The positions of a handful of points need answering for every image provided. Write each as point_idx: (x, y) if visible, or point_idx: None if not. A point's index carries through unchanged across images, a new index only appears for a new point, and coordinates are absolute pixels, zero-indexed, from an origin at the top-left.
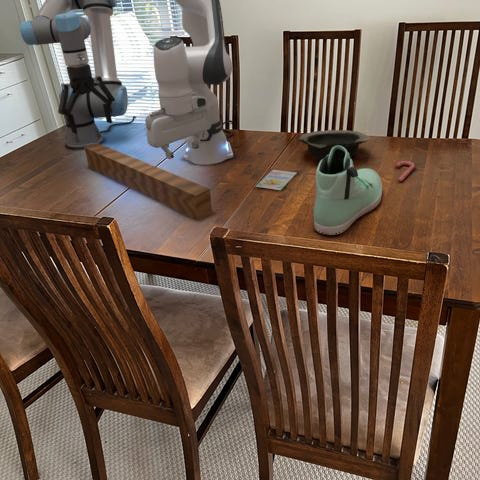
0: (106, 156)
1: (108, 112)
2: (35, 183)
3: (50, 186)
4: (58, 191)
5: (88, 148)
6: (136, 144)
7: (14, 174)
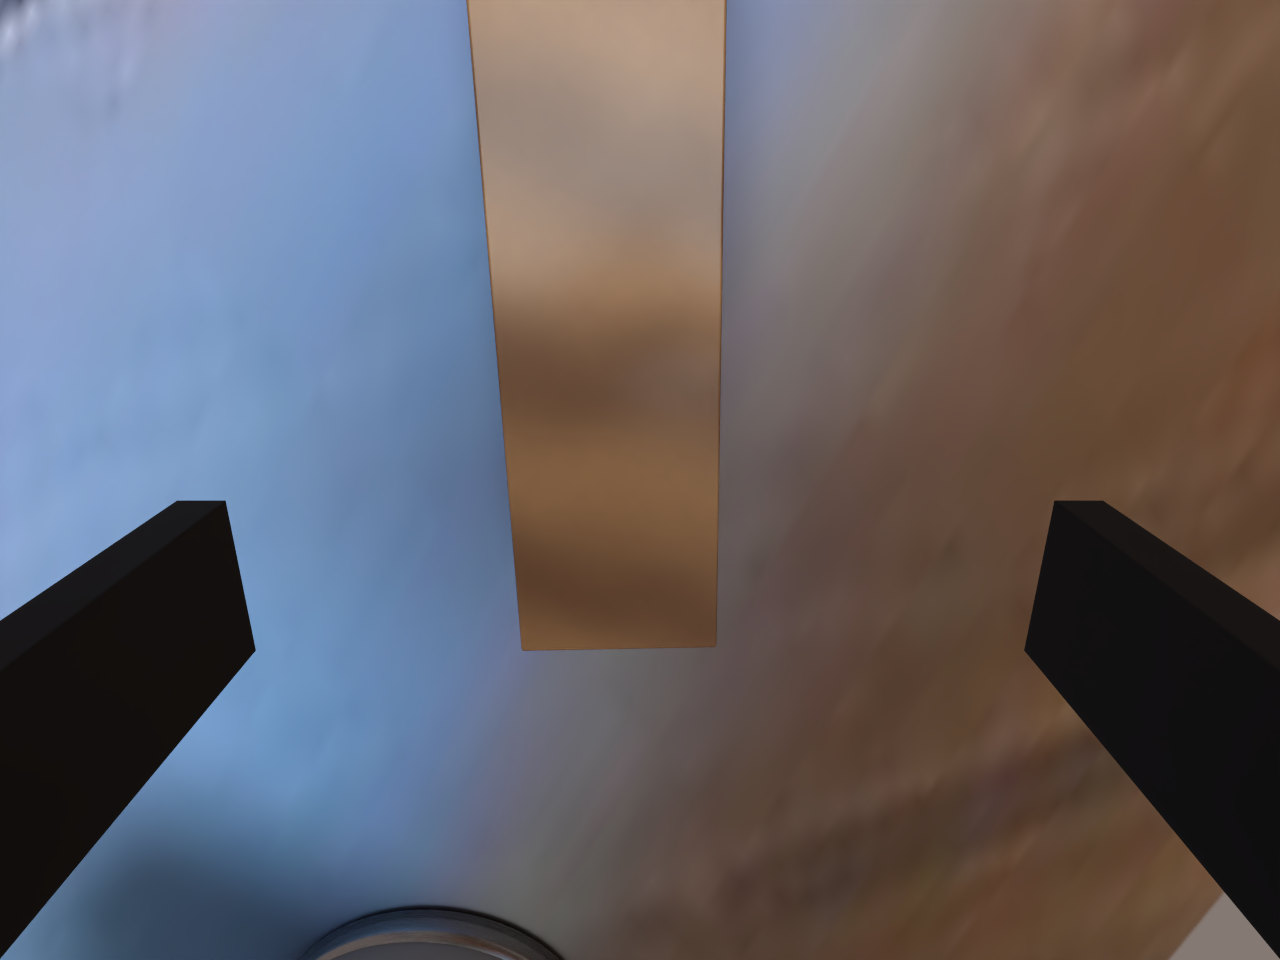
0: (713, 18)
1: (30, 641)
2: None
3: (1176, 411)
4: (1221, 226)
5: (704, 557)
6: None
7: (1157, 875)
